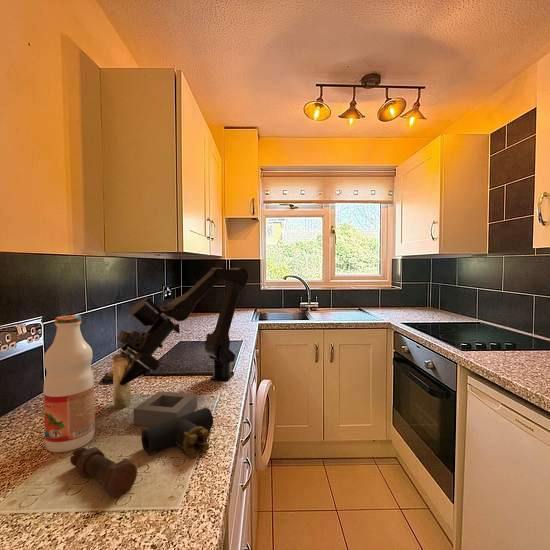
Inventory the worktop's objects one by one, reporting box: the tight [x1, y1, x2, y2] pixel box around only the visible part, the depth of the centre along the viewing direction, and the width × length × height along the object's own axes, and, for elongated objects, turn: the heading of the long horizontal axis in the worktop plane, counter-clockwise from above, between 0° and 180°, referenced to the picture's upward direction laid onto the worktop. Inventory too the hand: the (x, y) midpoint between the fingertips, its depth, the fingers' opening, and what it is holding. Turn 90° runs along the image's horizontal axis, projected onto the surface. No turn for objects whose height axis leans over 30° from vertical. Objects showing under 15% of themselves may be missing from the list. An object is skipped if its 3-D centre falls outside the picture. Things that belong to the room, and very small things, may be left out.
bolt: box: [69, 446, 138, 499], centre depth 59 cm, size 6×5×15 cm
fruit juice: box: [43, 314, 96, 453], centre depth 71 cm, size 9×9×28 cm
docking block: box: [133, 390, 198, 428], centre depth 83 cm, size 11×11×4 cm
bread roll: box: [100, 369, 113, 386], centre depth 111 cm, size 11×8×4 cm
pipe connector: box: [140, 407, 214, 458], centre depth 70 cm, size 12×5×15 cm
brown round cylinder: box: [112, 353, 132, 409], centre depth 90 cm, size 4×4×14 cm
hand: (116, 381), depth 89 cm, fingers open, 7 cm apart
